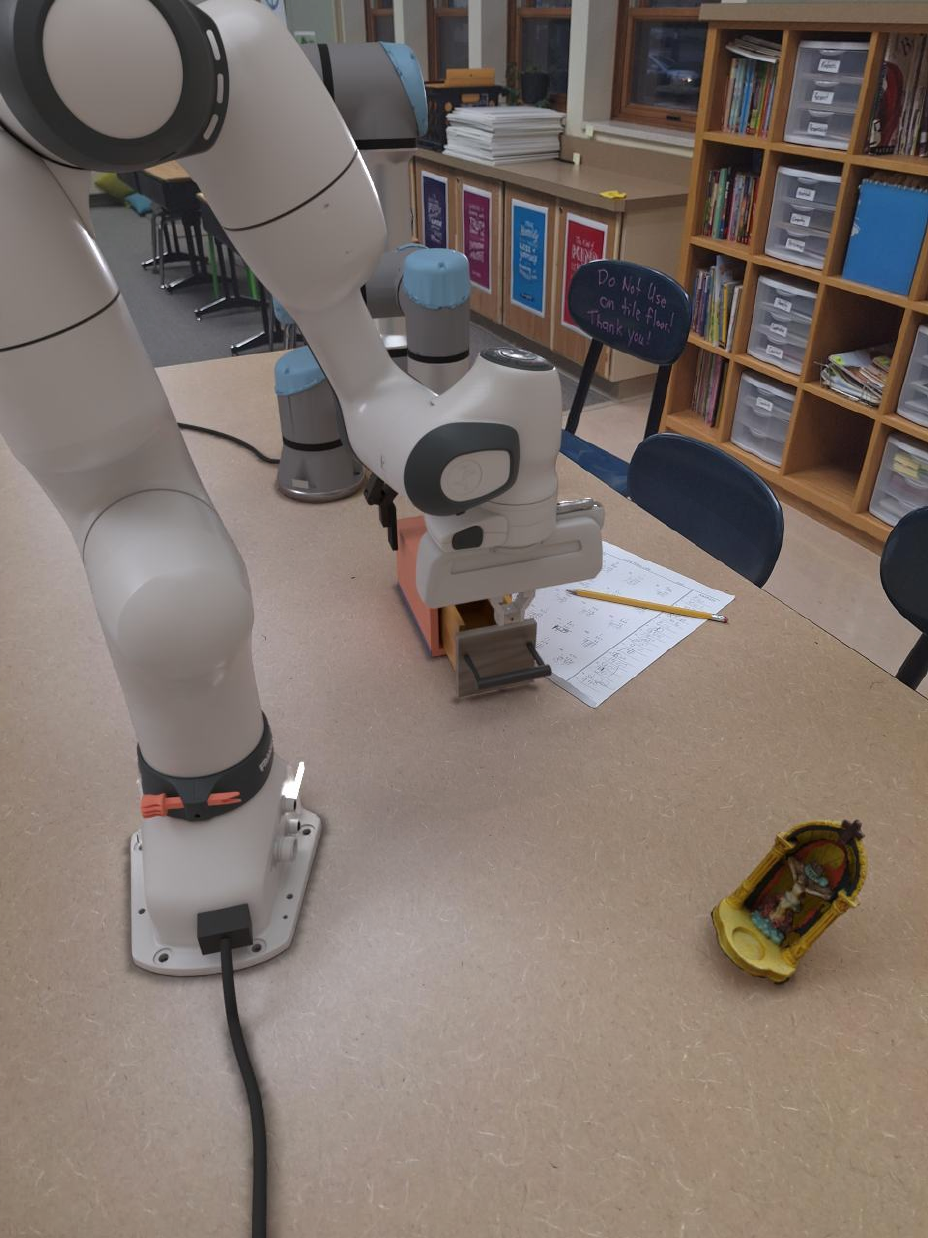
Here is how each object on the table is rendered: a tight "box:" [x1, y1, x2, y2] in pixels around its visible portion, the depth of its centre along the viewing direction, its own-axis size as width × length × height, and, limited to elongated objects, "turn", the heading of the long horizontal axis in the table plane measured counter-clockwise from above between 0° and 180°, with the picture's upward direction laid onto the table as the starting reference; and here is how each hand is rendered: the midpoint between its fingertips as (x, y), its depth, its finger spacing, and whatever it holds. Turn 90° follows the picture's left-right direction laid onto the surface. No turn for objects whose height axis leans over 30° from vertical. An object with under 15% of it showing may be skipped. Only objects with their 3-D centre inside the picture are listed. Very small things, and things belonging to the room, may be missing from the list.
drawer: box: [438, 595, 553, 698], centre depth 106 cm, size 22×10×9 cm, turn 18°
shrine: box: [710, 818, 868, 986], centre depth 72 cm, size 12×8×15 cm
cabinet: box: [395, 514, 513, 658], centre depth 116 cm, size 18×11×11 cm, turn 18°
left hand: (509, 621), depth 95 cm, fingers closed
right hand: (441, 537), depth 118 cm, fingers open, 13 cm apart
